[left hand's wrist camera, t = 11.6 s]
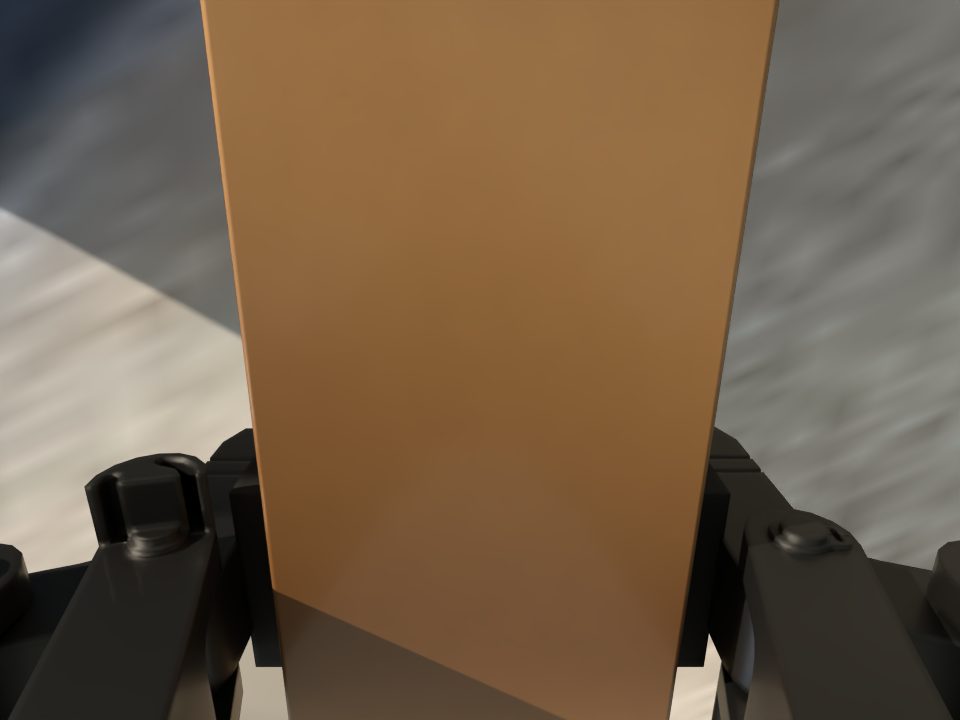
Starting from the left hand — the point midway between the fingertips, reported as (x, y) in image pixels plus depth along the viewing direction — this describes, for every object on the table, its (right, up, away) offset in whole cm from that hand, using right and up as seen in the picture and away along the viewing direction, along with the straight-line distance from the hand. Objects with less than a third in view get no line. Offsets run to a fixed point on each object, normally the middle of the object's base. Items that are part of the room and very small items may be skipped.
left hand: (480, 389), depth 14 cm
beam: (0, +27, -9) cm, 28 cm away
